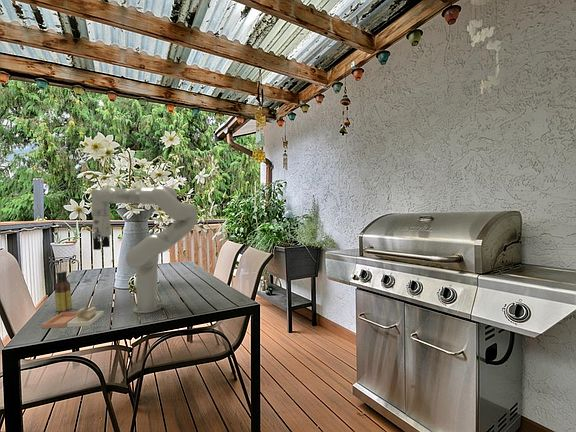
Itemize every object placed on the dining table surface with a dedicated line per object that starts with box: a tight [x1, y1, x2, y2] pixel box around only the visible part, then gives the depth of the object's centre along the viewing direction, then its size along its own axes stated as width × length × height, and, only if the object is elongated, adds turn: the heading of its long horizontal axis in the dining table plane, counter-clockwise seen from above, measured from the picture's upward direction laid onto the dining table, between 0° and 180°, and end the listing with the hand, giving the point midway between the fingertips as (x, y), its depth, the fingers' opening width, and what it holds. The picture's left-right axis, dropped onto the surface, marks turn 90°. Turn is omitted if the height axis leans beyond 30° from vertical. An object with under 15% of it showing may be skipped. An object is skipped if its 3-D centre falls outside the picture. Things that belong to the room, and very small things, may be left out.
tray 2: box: [66, 310, 105, 328], centre depth 139 cm, size 8×14×2 cm, turn 8°
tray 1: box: [41, 311, 77, 329], centre depth 138 cm, size 8×14×2 cm, turn 8°
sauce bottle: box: [54, 270, 73, 313], centre depth 152 cm, size 7×6×20 cm
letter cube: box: [76, 306, 96, 322], centre depth 139 cm, size 5×5×5 cm
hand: (101, 248), depth 156 cm, fingers open, 9 cm apart
